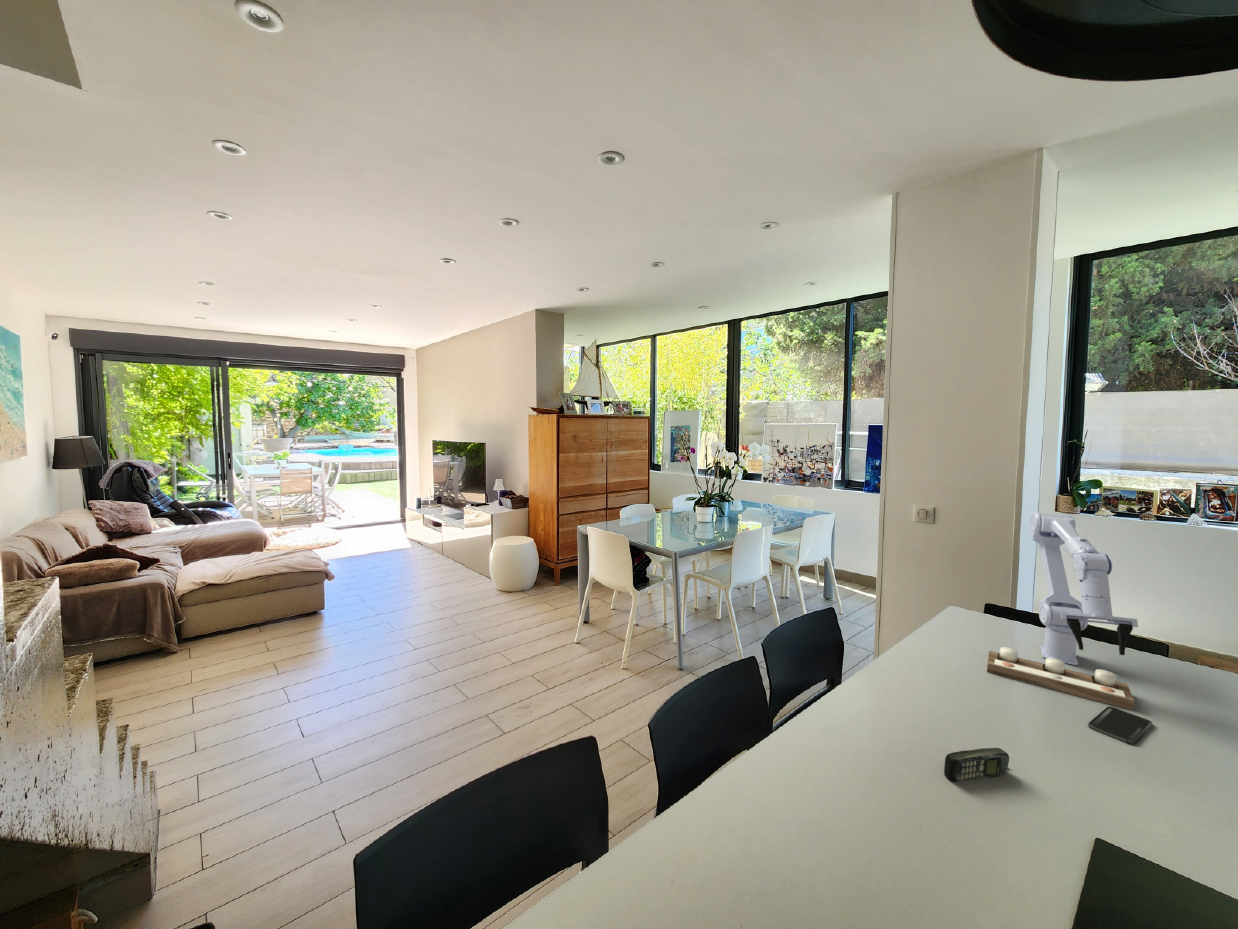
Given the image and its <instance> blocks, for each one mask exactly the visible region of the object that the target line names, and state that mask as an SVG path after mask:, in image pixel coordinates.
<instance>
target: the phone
mask: <svg viewBox="0 0 1238 929" xmlns="http://www.w3.org/2000/svg"><path fill="white" fill-rule="evenodd" d="M1087 727H1088V728H1089V730H1092V731H1095V732H1097V733H1098V734H1099V733H1100V734H1101V735H1104V736H1107V737H1110V738H1112V739H1114V740H1117V741H1119V742H1122V743H1125V744H1127V745H1131V746H1135V745H1137V743H1138V742H1140V740H1142V738H1143V736H1145V735H1146V734H1147V732H1148V731H1149V730H1150V729H1152V727H1153V721H1151V720H1149V719H1147V718H1144V717H1142V716H1139V715H1136V714H1133V713H1130V712H1128V711H1125V710H1122V709H1119V708H1116V707H1115V706H1114V707H1113V706H1107V707H1105V708H1104V709H1103V710H1102V711H1101V712H1100V713H1099V714H1097V715H1095V717H1093V719H1091V720H1090V721H1089V722H1088V726H1087Z"/></svg>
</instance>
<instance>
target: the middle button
mask: <svg viewBox="0 0 1238 929" xmlns="http://www.w3.org/2000/svg"><path fill="white" fill-rule="evenodd" d="M1044 664H1045V669H1046V670H1048V671H1050V672H1053V673H1058V674H1063V673H1064V670H1065V669H1066V663H1064V662H1063V661H1061V660H1058V659H1055V658H1045V663H1044Z"/></svg>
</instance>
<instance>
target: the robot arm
mask: <svg viewBox="0 0 1238 929" xmlns="http://www.w3.org/2000/svg"><path fill="white" fill-rule="evenodd" d="M1029 529H1030V535H1031V538H1032V541H1034V542H1036V543H1037V544H1038V547H1039V552H1040V557H1041V562H1042V566H1043V567H1042V568H1043V571H1044V572H1043V573H1044V577H1045V581H1046V582H1045V583H1046V586H1047V591H1048V595H1046V596H1045V597H1043V598H1042V599H1041V600H1040V601H1039V603H1038V606H1039V608H1038V609H1039V613H1038V617H1039V620H1040V622H1041V623H1042V625H1044V626H1045V632H1044V641H1043V645H1040V651H1041V652H1040V653H1041V657H1042V658H1043V659H1046V658H1055V659H1058V660H1061V661H1063V662H1064V663H1065V664H1069V665H1073V666H1078V665H1079V662H1078V659H1077V655H1076V654H1077V646H1078V649H1079V650H1080V651H1084V643H1083V638H1082V631H1083V630H1086V629H1087V627H1088V624H1089V623H1095V624H1104V625H1114V626H1116V627H1117V628H1116V631H1117V638H1118V652H1119V656H1125V654H1126V653H1125V652H1126V646H1127V642H1128V641H1129V637H1130V635H1131V633H1132V631H1133V630H1134V628H1138V627H1139V625H1138V622H1139V621H1138V618H1131V617H1124V616H1123V617H1122V616H1121V617H1120V616H1114V615H1113V608H1112V602H1111V601H1112V600H1111V591H1110V590H1111V589H1110V581H1109V576H1110V575H1111V573H1112V571H1113V562H1112V558H1111V557H1110V555H1109V554H1108V553H1103V552H1099V551H1098V550H1097V549H1096V548H1095V547H1094V546H1093V544H1092V543H1091V542H1090V541H1089V540H1088V539H1087V538H1086V537H1084V536H1080V535H1079V533H1078V532H1077V530H1076V519H1075V518H1074V516H1073V515H1072V514H1070V513H1069V514H1068V513H1067V514H1063V513H1062V514H1060V513H1048V512H1045V513H1044V512H1038V511H1037V512H1036V511H1034V512H1033V513H1032V514H1031V515H1030V519H1029ZM1062 545H1063V547H1064V549H1065V551H1066V552H1067V553H1068V555H1069V556H1070V557H1071V559H1072V560H1073V561H1072V566H1073V569H1074V572H1075V574H1076V575H1075V576H1076V579H1077V580H1078V581H1079V588H1080V589H1079V590H1080V591H1079V592H1080V598H1081V599H1080V600H1081V601H1079V600H1078V599H1077V598H1075V597H1073V596H1072V595H1071V593H1070V587H1069V583H1068V579H1067V574H1066V570H1065V565H1064V564H1065V563H1064V561H1063V556H1062V552H1061V546H1062ZM1090 619H1091V620H1090Z"/></svg>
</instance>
